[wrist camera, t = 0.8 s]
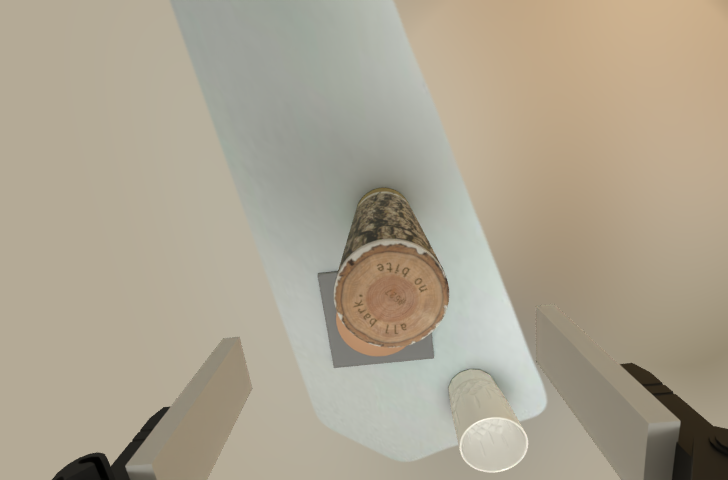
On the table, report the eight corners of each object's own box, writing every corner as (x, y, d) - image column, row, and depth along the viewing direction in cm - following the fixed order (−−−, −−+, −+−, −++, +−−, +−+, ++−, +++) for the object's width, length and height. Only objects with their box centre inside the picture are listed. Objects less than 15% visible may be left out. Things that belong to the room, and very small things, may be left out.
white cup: (490, 357, 50) (517, 409, 40) (506, 402, 52) (536, 462, 42) (436, 374, 51) (450, 429, 41) (454, 418, 53) (471, 480, 43)
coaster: (318, 273, 48) (316, 276, 46) (424, 261, 47) (425, 264, 45) (334, 365, 51) (333, 370, 50) (433, 355, 50) (434, 360, 49)
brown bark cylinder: (385, 250, 46) (396, 368, 22) (345, 216, 45) (310, 301, 21) (421, 211, 45) (474, 291, 21) (380, 175, 44) (385, 216, 20)
